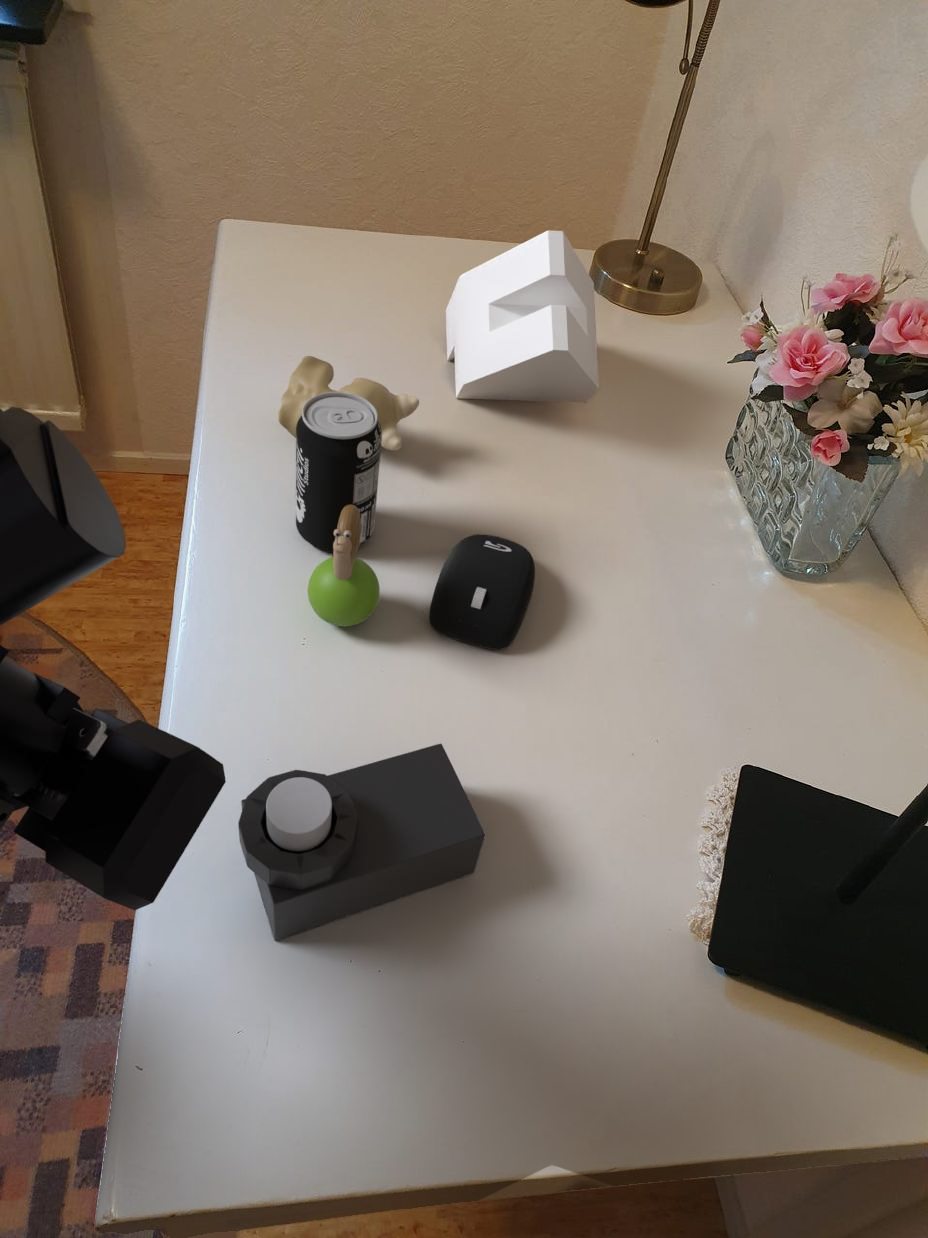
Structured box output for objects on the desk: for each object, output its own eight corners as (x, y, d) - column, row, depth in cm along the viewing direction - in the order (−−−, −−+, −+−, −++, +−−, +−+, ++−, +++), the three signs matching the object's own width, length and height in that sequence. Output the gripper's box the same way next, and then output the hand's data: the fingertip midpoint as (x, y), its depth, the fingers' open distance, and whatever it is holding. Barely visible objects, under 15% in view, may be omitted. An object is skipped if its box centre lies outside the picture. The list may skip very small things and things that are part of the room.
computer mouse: (543, 561, 80) (552, 526, 77) (511, 660, 72) (520, 626, 69) (460, 537, 80) (466, 502, 78) (419, 633, 72) (424, 598, 69)
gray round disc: (276, 860, 51) (276, 842, 49) (259, 806, 53) (258, 787, 52) (339, 840, 52) (340, 822, 51) (319, 788, 54) (320, 769, 53)
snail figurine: (300, 646, 70) (300, 528, 61) (312, 586, 74) (315, 467, 65) (372, 654, 70) (383, 538, 61) (380, 594, 75) (391, 477, 66)
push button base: (262, 946, 54) (258, 892, 49) (232, 845, 58) (226, 785, 53) (474, 873, 59) (491, 817, 54) (433, 784, 63) (445, 724, 58)
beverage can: (287, 510, 80) (286, 392, 71) (360, 500, 82) (368, 384, 73) (307, 563, 76) (308, 444, 67) (383, 550, 78) (394, 434, 69)
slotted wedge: (448, 410, 99) (484, 346, 81) (445, 310, 100) (480, 225, 82) (573, 414, 101) (634, 353, 84) (569, 316, 102) (628, 235, 85)
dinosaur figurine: (308, 344, 87) (416, 358, 81) (335, 400, 92) (438, 417, 87) (262, 405, 83) (372, 424, 78) (294, 460, 89) (398, 481, 84)
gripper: (-397, 783, 35) (-73, 889, 47) (-130, 1016, 26) (181, 1069, 39) (-194, 544, 38) (57, 702, 51) (101, 676, 30) (315, 827, 42)
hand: (139, 813), depth 46 cm, fingers closed
